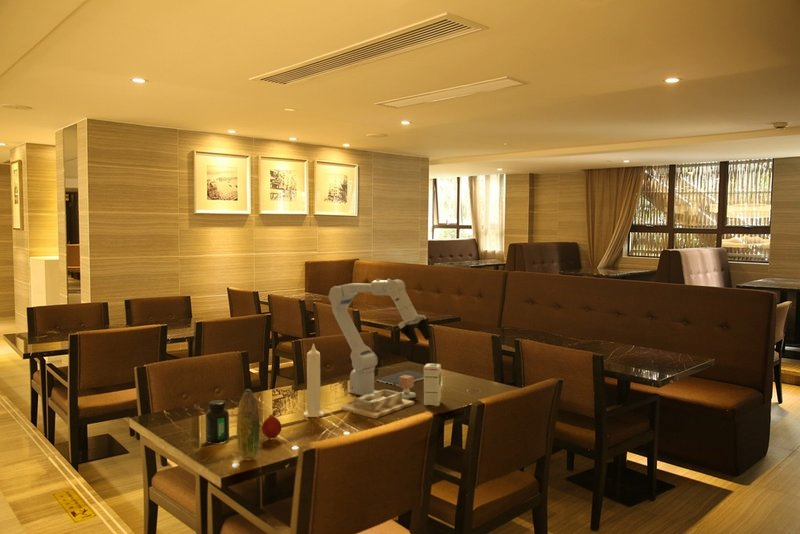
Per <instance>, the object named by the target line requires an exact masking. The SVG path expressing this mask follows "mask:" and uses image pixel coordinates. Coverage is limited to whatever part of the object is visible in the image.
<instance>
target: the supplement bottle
mask: <svg viewBox="0 0 800 534" xmlns="http://www.w3.org/2000/svg"><path fill="white" fill-rule="evenodd" d="M207 408H208V410H207V412H205V417H204V419H205V442H206V441H207V442H211V443H220V442H224V441H226V440H228V439H229V440H230V413H229V411H228V409H226V400H223V399H216V400H215V399H213V400H211V401H208V407H207ZM229 440H228V441H229ZM207 442H206V443H207Z"/></svg>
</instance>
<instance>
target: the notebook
mask: <svg viewBox="0 0 800 534" xmlns="http://www.w3.org/2000/svg"><path fill="white" fill-rule="evenodd" d="M403 375H409V376H414V383H415V382H417V381H421V380H424V372H417V371H414V370H411V369H410V370H408V369H407V370H404V371H400V372H397V373H393V374H390V375H385V376H382V377H377V378H376V379H375V382H377V381H379V382H378V383H382V382H383V383H382V384H386V383H388V384H387V385H390V384H392V385H391V386H394V385H396V386H395V387H399V377H400V376H403Z"/></svg>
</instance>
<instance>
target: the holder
mask: <svg viewBox="0 0 800 534" xmlns="http://www.w3.org/2000/svg"><path fill="white" fill-rule="evenodd" d="M376 391H377V392H374V393H371V394H367V395H364V396H362V395H360V396H358V397H356V398H353V402H352V403H349V404H346V405H343V406H341V407H340V409H342V410H341V411H345V412H350V413H352V412H353V414H357V415H360V416H363V417H369V418H373V419H377V418H381V417H383V416H386V415H388V414H391V413H393V412H396V411H400V410H402V409H404V408H408V407H409V406H413V405H415V401H414V400H412V399H408V400H407V399H403V398H402V393H400V392H401V391H400V392H399V391H396V390H390V389H386V388H384V389H380V390H376Z"/></svg>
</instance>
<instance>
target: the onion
mask: <svg viewBox="0 0 800 534" xmlns="http://www.w3.org/2000/svg"><path fill="white" fill-rule="evenodd" d="M281 431H282V424H281V421H280V420H279V419H278V418H277V417H276V416H275V415H274V414H272V413H271V414H269V415H268V417H267V418H265V420H264V421H263V423H262V426H261V433H262V434H263V435H264V436H265V437H266V438H268V439H269V438H274V439H276V438H277V437H278V436H279V435H280V434H281Z"/></svg>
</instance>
